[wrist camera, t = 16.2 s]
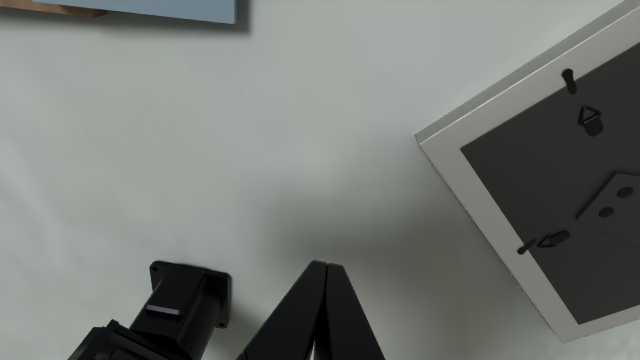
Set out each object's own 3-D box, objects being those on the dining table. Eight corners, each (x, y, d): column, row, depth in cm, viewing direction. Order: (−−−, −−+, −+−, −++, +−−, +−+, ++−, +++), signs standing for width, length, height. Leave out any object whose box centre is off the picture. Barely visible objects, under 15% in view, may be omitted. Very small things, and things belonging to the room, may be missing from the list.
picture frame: (798, 234, 22) (720, -69, 15) (853, 265, 20) (789, -79, 13) (549, 320, 28) (413, 130, 21) (567, 352, 26) (420, 149, 19)
